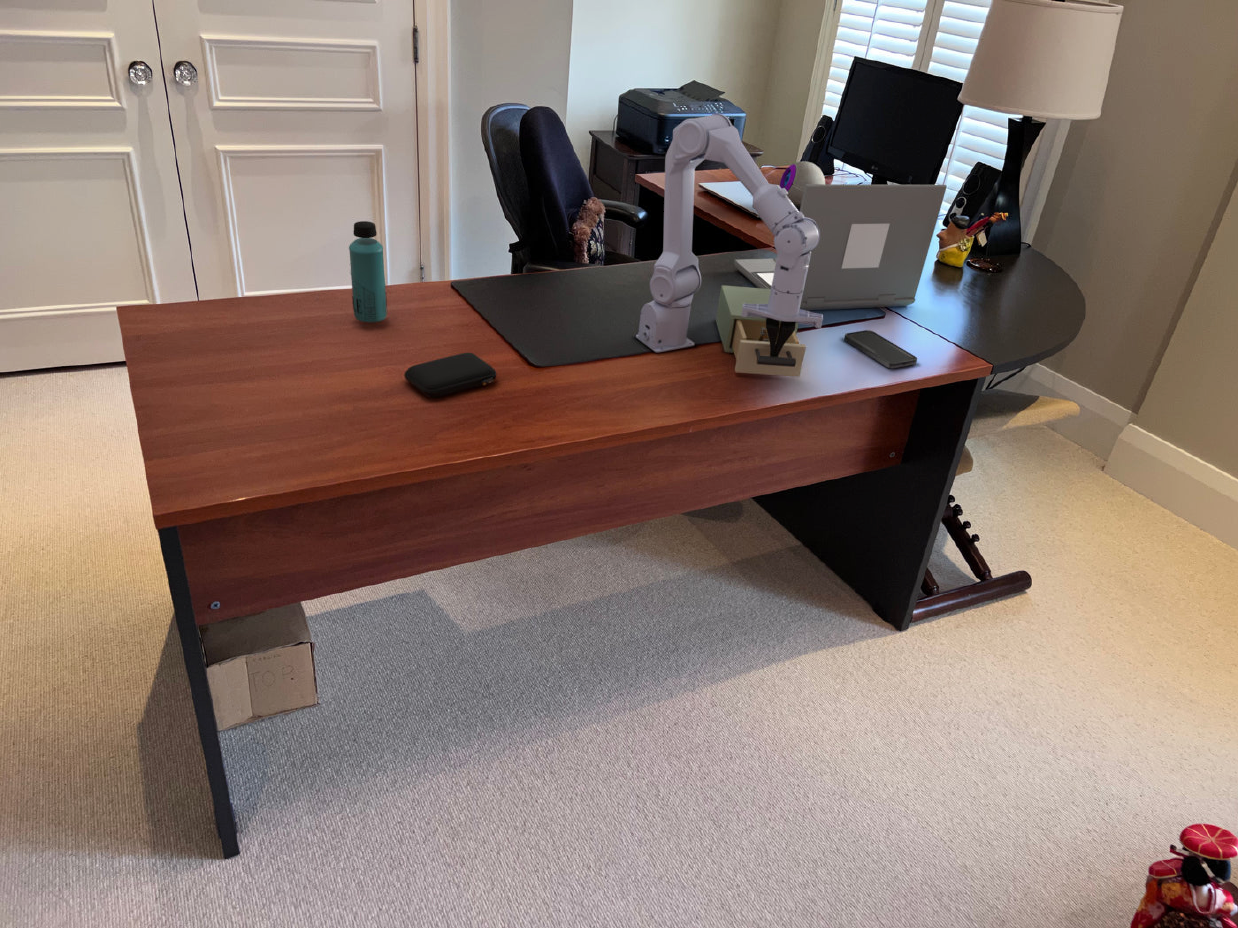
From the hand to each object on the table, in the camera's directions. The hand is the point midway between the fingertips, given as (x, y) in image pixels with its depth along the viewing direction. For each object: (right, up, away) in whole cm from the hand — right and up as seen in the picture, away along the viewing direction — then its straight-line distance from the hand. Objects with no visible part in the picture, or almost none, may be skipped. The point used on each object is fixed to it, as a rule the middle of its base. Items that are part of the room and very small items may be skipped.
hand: (773, 356), depth 169 cm
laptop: (+20, +22, +49) cm, 57 cm away
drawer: (-1, 0, +8) cm, 8 cm away
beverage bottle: (-78, +7, +9) cm, 79 cm away
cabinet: (-1, +6, +20) cm, 21 cm away
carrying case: (-58, -6, -9) cm, 59 cm away
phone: (+25, +3, +20) cm, 33 cm away
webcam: (+24, +54, +99) cm, 116 cm away
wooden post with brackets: (-1, +1, +8) cm, 8 cm away
